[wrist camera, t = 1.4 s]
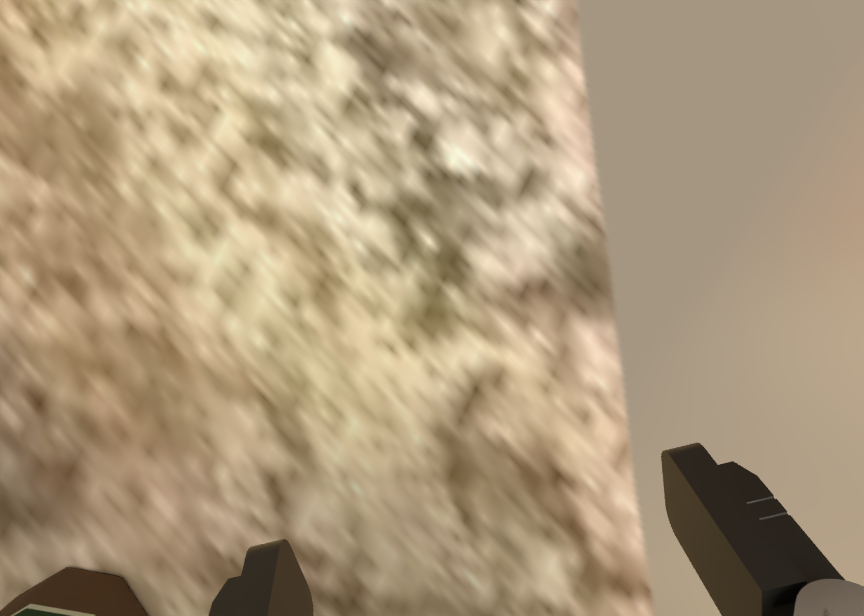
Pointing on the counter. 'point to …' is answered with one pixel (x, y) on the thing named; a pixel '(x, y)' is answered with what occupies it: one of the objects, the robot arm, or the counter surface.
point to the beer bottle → (76, 596)
